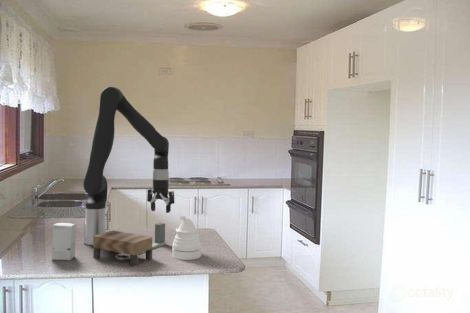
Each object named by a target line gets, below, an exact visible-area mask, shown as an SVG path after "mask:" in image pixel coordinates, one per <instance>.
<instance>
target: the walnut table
mask: <svg viewBox="0 0 470 313" xmlns="http://www.w3.org/2000/svg"><path fill="white" fill-rule="evenodd" d="M152 243H153V237H152V236H147V235H142V234H136V233H130V232H124V231H119V230H110V231H107V232H106V233H102V234H99V235H96V236H94V245H93V258H94V259H100V258H101V250H106V251H109V253H112V254H113V253H114V254H115V253H119V254H121V253H125V254H130V259H129V260H130V261H129V262H130V266H131V267H135V266H137V265H138V255H140V254H139V253H141V254H143V253H142V252H144V251H146V252H144V253H145V260H148V261H149V260H152V259H153V249H152Z"/></svg>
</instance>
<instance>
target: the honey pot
mask: <svg viewBox="0 0 470 313" xmlns="http://www.w3.org/2000/svg"><path fill="white" fill-rule="evenodd" d="M180 220H182V222H181V223H180V224H179V227H176V229H175V232H176V234H175V236H174V239H173V241H172V242H173V243H172V248H171V249H172V250H171V251H172V252H171V257H172V258H174V259H177V260H180V261H181V260H182V261H184V260H186V261H187V260H188V261H190V260H196V259H200V257H201V256H202V243H201V240H200V236H199V234H198V232H199V229H198V228H197V227H196V226H195V224H194V223H193V221H192V219H190V218H188V217H187V216H186V215H185V214H182V215H180Z"/></svg>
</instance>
